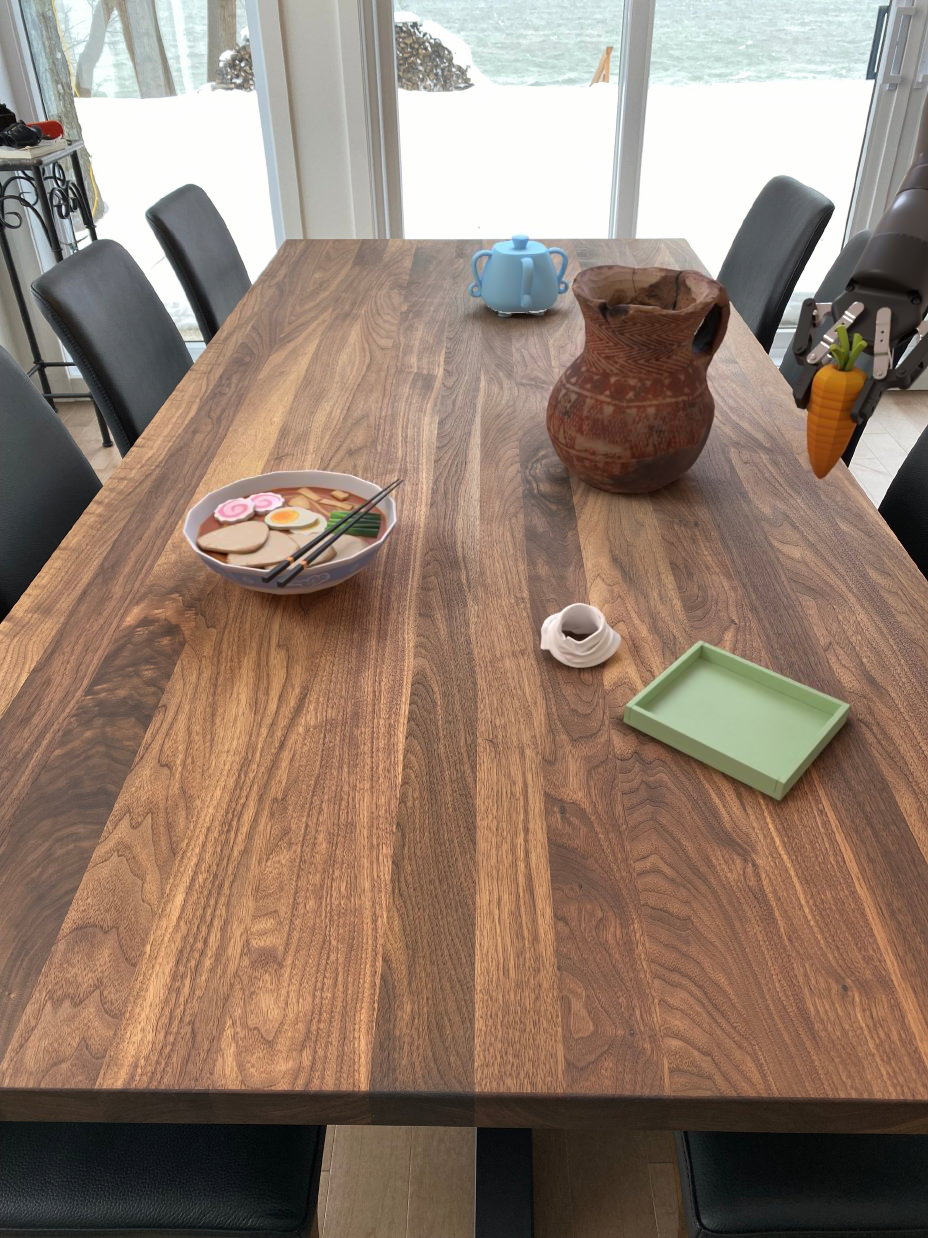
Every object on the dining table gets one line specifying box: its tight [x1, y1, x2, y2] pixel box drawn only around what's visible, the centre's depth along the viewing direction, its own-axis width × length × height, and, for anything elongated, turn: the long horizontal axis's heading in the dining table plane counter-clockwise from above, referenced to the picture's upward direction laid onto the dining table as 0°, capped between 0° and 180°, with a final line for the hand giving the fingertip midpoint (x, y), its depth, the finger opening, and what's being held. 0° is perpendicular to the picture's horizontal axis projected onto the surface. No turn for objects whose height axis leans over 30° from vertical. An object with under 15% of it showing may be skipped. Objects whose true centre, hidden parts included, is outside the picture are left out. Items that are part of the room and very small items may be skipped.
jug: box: [545, 264, 731, 495], centre depth 123 cm, size 22×21×25 cm
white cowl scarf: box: [540, 602, 622, 668], centre depth 96 cm, size 8×7×5 cm
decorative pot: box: [468, 234, 570, 318], centre depth 186 cm, size 16×16×14 cm
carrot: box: [806, 325, 869, 480], centre depth 93 cm, size 5×5×15 cm
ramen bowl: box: [181, 469, 404, 596], centre depth 106 cm, size 25×23×8 cm
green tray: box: [622, 639, 851, 802], centre depth 87 cm, size 15×13×2 cm
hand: (827, 411), depth 92 cm, fingers closed on carrot, 5 cm apart
